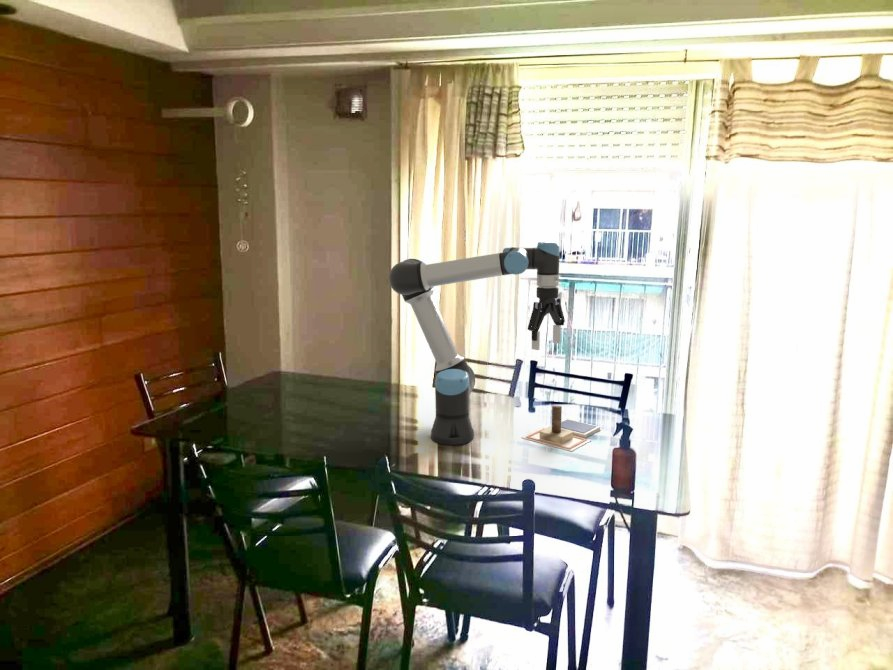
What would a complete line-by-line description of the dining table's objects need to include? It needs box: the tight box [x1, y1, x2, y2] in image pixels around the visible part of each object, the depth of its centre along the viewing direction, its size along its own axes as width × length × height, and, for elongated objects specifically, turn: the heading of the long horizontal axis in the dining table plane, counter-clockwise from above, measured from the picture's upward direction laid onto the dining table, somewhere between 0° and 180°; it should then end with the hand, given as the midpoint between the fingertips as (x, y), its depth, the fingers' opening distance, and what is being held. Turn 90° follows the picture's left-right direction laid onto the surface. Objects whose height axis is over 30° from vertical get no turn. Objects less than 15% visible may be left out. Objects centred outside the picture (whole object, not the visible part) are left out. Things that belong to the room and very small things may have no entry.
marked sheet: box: [521, 427, 592, 452], centre depth 230 cm, size 20×13×1 cm, turn 49°
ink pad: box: [550, 418, 601, 439], centre depth 239 cm, size 14×11×1 cm
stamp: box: [540, 404, 574, 444], centre depth 228 cm, size 9×7×12 cm
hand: (546, 346), depth 234 cm, fingers open, 13 cm apart
